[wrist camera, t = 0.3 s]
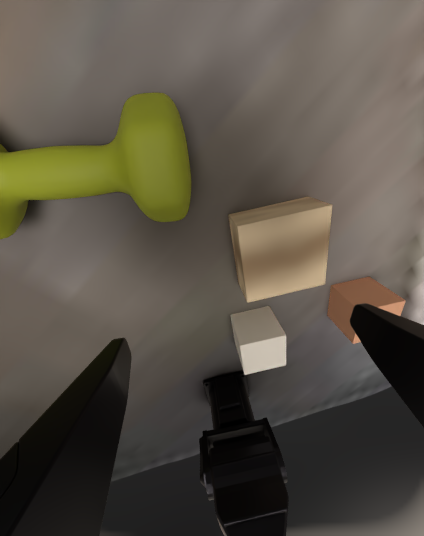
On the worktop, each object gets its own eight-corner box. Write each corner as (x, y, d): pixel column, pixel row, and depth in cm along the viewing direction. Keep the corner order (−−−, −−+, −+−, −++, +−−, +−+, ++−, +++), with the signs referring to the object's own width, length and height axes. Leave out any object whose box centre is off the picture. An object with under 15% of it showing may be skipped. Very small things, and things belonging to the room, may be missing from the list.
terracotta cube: (361, 306, 29) (393, 333, 25) (326, 314, 29) (352, 343, 25) (368, 276, 27) (405, 300, 23) (330, 284, 27) (360, 311, 22)
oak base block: (304, 265, 25) (324, 284, 22) (237, 281, 25) (247, 302, 21) (306, 196, 21) (332, 204, 18) (227, 213, 21) (237, 226, 17)
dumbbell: (181, 103, 16) (183, 73, 10) (192, 209, 20) (198, 236, 14) (-60, 113, 15) (-238, 86, 8) (2, 226, 19) (-88, 265, 12)
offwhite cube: (270, 333, 29) (286, 365, 25) (234, 341, 29) (244, 375, 25) (268, 305, 27) (286, 335, 23) (230, 314, 27) (239, 345, 22)
